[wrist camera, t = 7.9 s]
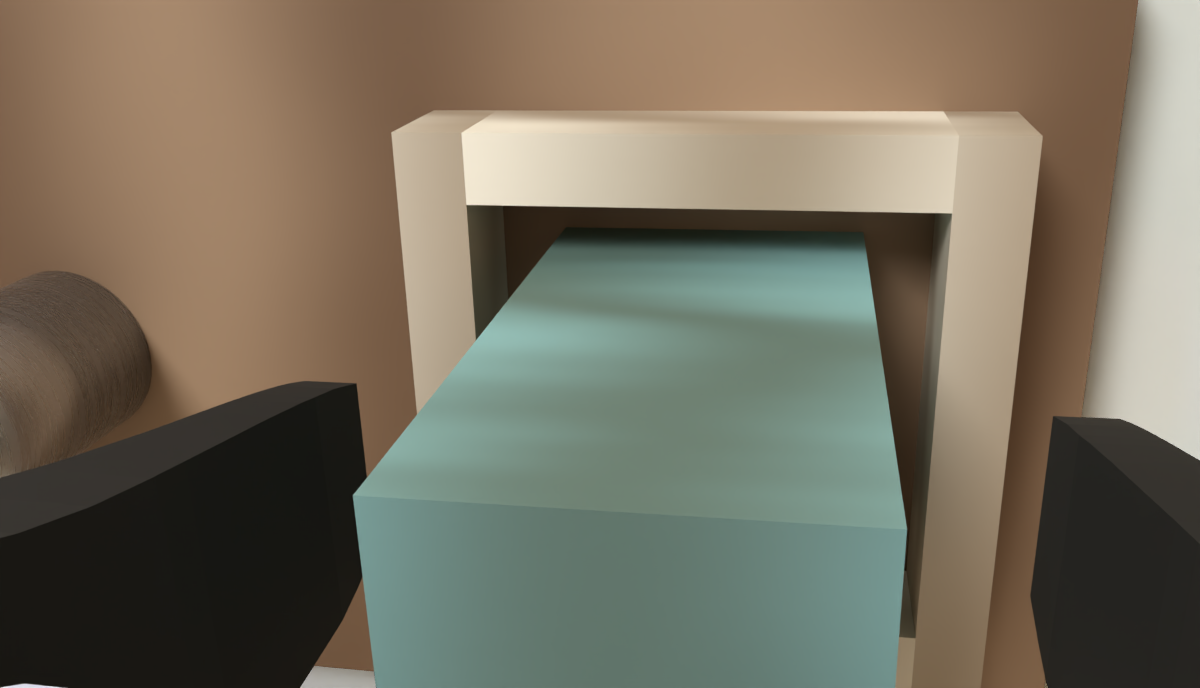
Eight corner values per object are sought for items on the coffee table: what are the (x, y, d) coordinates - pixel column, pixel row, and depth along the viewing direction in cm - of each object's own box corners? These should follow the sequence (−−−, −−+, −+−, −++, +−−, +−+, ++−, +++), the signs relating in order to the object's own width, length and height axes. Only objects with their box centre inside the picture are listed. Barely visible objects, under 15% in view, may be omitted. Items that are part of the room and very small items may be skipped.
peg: (576, 485, 15) (403, 903, 9) (566, 227, 14) (352, 496, 8) (848, 501, 15) (875, 964, 8) (863, 232, 13) (907, 529, 7)
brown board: (-72, 592, 19) (-192, 682, 17) (-240, -18, 16) (-419, -6, 14) (1025, 686, 16) (1059, 815, 14) (1120, -46, 13) (1187, -35, 10)
